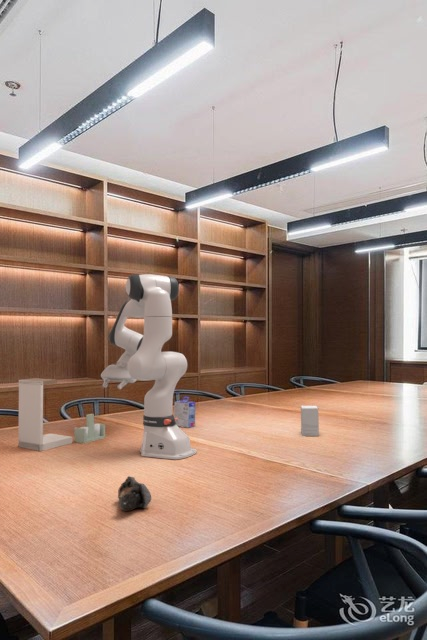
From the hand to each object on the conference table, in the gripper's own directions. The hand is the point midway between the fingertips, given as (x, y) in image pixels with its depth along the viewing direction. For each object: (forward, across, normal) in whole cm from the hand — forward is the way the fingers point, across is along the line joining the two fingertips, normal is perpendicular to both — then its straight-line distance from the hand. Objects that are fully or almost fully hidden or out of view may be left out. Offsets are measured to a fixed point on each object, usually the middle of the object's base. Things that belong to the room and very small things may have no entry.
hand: (111, 387), depth 213 cm
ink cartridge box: (-8, +19, +38) cm, 43 cm away
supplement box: (-18, +79, +47) cm, 93 cm away
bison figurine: (+58, +69, -30) cm, 95 cm away
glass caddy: (+24, 0, +6) cm, 25 cm away
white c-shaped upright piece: (+36, -8, -5) cm, 37 cm away
